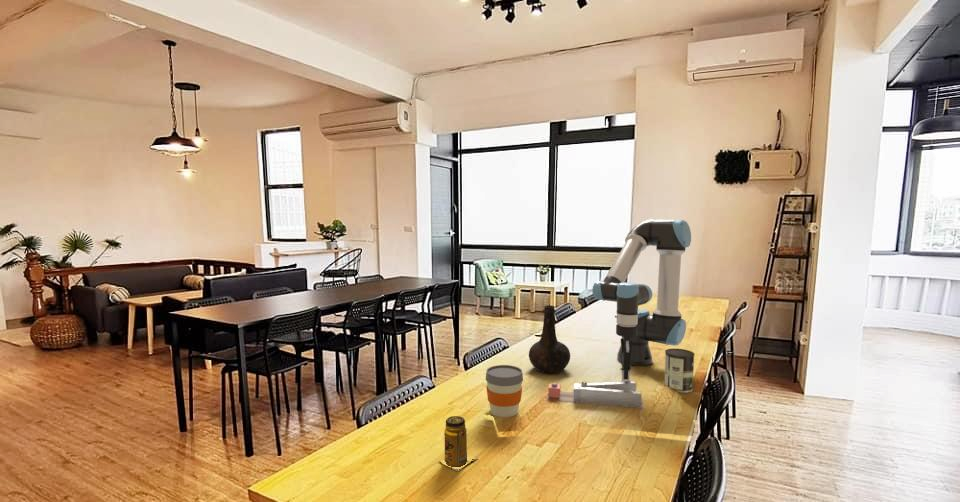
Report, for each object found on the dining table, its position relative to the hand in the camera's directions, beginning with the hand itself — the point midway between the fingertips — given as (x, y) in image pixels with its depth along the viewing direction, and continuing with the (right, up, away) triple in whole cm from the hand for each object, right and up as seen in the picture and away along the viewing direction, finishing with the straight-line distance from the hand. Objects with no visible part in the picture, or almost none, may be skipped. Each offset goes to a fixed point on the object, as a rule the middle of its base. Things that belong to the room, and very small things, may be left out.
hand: (625, 386), depth 168 cm
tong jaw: (-8, -2, -7) cm, 11 cm away
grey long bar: (-10, -2, -11) cm, 15 cm away
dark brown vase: (-25, -1, +26) cm, 36 cm away
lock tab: (-28, -2, -5) cm, 28 cm away
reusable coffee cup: (-46, -5, -17) cm, 49 cm away
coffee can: (+22, -2, +5) cm, 23 cm away
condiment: (-60, -7, -45) cm, 76 cm away
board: (-14, -3, -8) cm, 16 cm away
